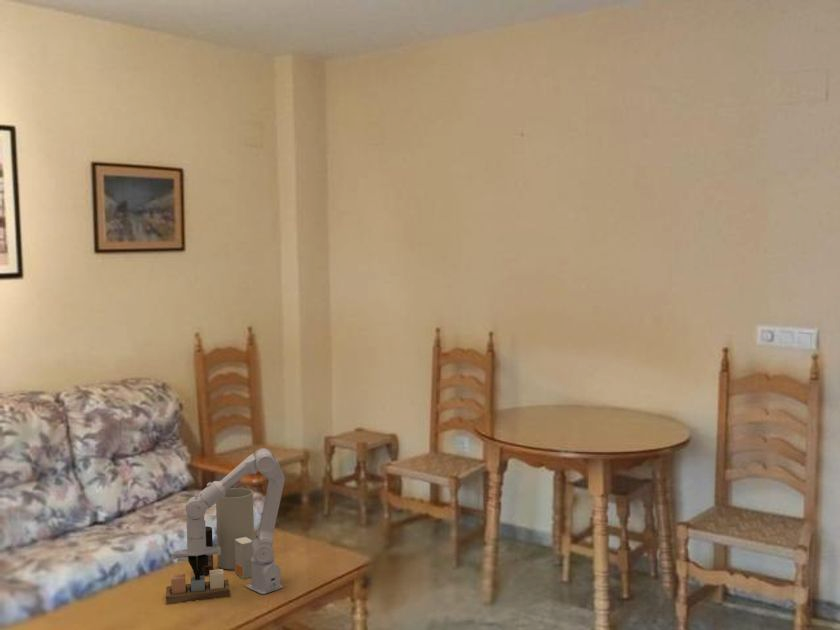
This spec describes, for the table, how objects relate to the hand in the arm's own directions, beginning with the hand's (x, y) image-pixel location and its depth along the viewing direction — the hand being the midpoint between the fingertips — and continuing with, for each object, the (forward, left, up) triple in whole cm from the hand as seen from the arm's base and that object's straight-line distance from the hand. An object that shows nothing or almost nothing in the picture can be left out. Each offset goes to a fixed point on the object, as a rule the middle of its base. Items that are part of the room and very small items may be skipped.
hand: (197, 578), depth 258 cm
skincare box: (+3, -20, -6) cm, 20 cm away
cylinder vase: (+14, -24, -5) cm, 28 cm away
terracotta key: (+3, +5, -3) cm, 7 cm away
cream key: (-3, -5, -3) cm, 7 cm away
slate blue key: (0, 0, -4) cm, 4 cm away
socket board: (0, 0, -5) cm, 5 cm away
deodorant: (+15, -12, -5) cm, 20 cm away
